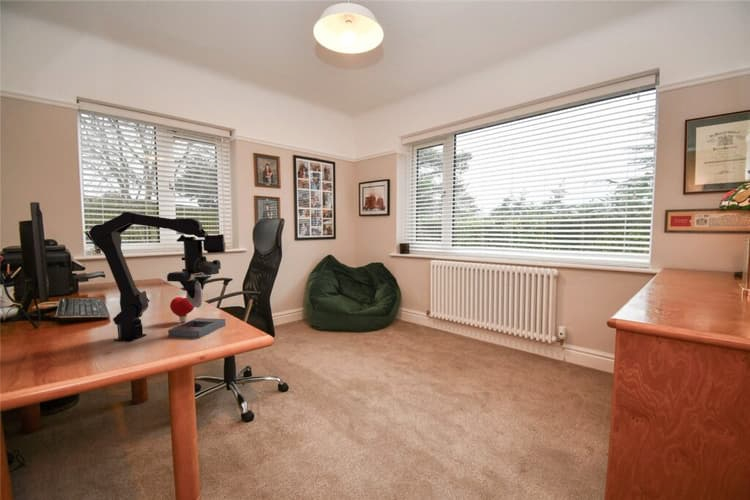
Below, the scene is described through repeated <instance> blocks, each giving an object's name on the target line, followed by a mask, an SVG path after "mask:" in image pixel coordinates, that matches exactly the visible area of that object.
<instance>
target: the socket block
mask: <svg viewBox="0 0 750 500" xmlns="http://www.w3.org/2000/svg"><path fill="white" fill-rule="evenodd" d="M225 325H226V319H225V318H210V317H209V318H207V317H196V318H194V319H192V320H191V319H190V320H189V321H185V322H184V323H181V324H179V325H176V326H174V327H172V328H169V329H167V332H168V333H167V335H168V338H169V337H170V338H186V339H187V338H188V339H201V338H203V337H205V336H207V335H209V334H211V333H213V332H216V331H217V330H219V329H221V328H224V327H225ZM223 326H224V327H223Z"/></svg>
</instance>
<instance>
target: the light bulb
mask: <svg viewBox="0 0 750 500" xmlns="http://www.w3.org/2000/svg"><path fill="white" fill-rule="evenodd" d="M169 307H170V310H171V312H172V313H173V314H174V315H176V316H177V317H178V318H179V322H181V324H184V323H186V322H187V321H188V314H189V313H192V312H193V310H194V309H195V307H194V306H192V305H191V304H190V303H189V301H188V299H187V297H183V296H178V297H175V298H173V299H172V300H171V302H170V305H169Z"/></svg>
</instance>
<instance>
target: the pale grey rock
mask: <svg viewBox="0 0 750 500" xmlns="http://www.w3.org/2000/svg"><path fill="white" fill-rule="evenodd" d="M203 290H204V289H203ZM203 290H202V289H201V284H200V283H199V282H198V281H196V283H195V296H194V298H191V297H190V296H189V294H188V293H187V292H186V293H185V294H186V295H185V298H187V299H188V301H189V303H190V304H191V305H192V306H194V308H198V309H199V308H200V307H201V306H202V304H203V296H204V291H203Z"/></svg>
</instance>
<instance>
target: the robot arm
mask: <svg viewBox="0 0 750 500" xmlns="http://www.w3.org/2000/svg"><path fill="white" fill-rule="evenodd" d="M133 225H138V226H143V227H144V226H146V227H153V228H161V229H165V230H167V229H168V230H172V231H174V232H177V233H179V234H181V235H180V237H178V238H177V239H176V242H179V243H181V242H183V256H182V257H181V260H182V261H184V268H182V270H181V271H172V272H169V273H167V275H166V280H167V282H174V283H175V282H177V283H179V284H180V285H181V286H182V287H183V288H184V290H185V291H186V294H187V293H188V294H189V296H190V297H191V298H194V296H195V283H196V281H198V282H199V283H200V284H201V289H202V290H204V288H205V285H206V282H207V281H208V280H209V279H210V278H212V275H217V274H220V271H219V270H221V268H222V266H221V260H219V259H214V260H212V261H209V260H207V256H205V255H204V253H203V252H207V254H223V253H224V254H225V253H226V242H225V235H224V234H222V233H221V234H210V235H209V234H208V232H206V231H205V229H204V228H203V224H202V222H201V221H200V220H198V219H195V218H168V217H161V216H155V215H154V216H153V215H147V214H142V213H135V212H131V211H124V212H122V213H121V214H119V215H117V216H116V217H113V218H111V219H109V220H107V221H106V222H104V223H101V224H95V225H93V226H92V227H91V228H90V230H89V233H88V235H89V237H90V238H91V240H92V242H93V243H94V244H95V246H96V247H97V248H98V249H99V250H100V251H101V252H102V253H103V254H104V257H105V259H106V262H107V264H108V266H109V269H110V271H111V274H112V276H113V278H114V282H115V284H116V286H117V289H118V292H119V294H120V296H119V308H120V312H118V314H117V315H116V316H114V317H113V318H112V321H113V323H114V325H116V327H117V338H114V339H113V341H114V342H132V341H135V340H137V339H140V338H143V337H146V336H147V333H143V332H144V331H143V330H144V329H143V323H142V319H141V317H142V316H143V314H144V313H145V312H146V311H147V310H148V308H149V302H150V301H151V300H149V298H148V296H147V291H146V290H143V291H140V290H139V289H138V287H137V286H136V284H135V281H134V278H133V276H132V274H131V271H130V268H129V266H128V264H127V261H126V258H125V256H124V254H123V251H122V236H121V234H122V233H124V232H126V231H127V230H128V229H129V228H131V227H132V226H133ZM185 235H187V236H185ZM196 237H197V238H198V239H196ZM203 238H204V239H203ZM203 250H204V251H203Z"/></svg>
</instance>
